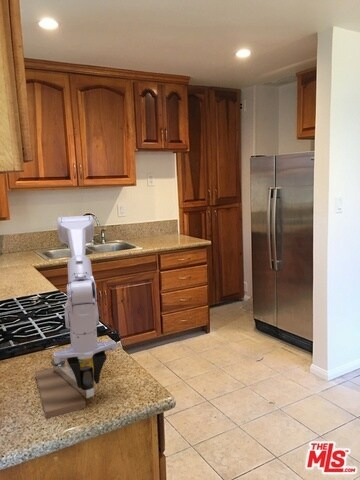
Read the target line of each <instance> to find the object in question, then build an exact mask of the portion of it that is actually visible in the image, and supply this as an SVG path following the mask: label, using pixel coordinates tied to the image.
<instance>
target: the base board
mask: <svg viewBox="0 0 360 480" xmlns="http://www.w3.org/2000/svg"><path fill="white" fill-rule="evenodd" d="M66 365H67V366H68V367H69V368H70V366H69V364H68V363H67V364H66ZM70 369H71V368H70ZM34 372H35V373H34V374H35V381H36V384H37V388H38V393H39V395H40V399H41V404H42V408H43V411H44V416H45V419H49V418H52V417H57V416H60V415H64V414H67V413H71V412H75V411H78V410H83V409H85V408H87V406H86V400H85V398H84V395H82V394H81V393H80V392H79V391H78V390H77V389H76V388H74V387H73V386H72V385H71V384H70V383H69V382H68V381H66V380H65V379H64V378H63V377H62V376H61V375H60V374H58V373H57V372H56V371H55V370H54V369H53V367H50V368H45V369H41V370H36V371H34Z"/></svg>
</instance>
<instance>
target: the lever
mask: <svg viewBox="0 0 360 480" xmlns="http://www.w3.org/2000/svg"><path fill="white" fill-rule="evenodd" d="M51 366H53V367H52V368H53V369H54V370H55V371H56V372H57V373H58V374H60V375H61V376H62V377H63V378H64V379H65V380H66V381H68V382H69V383H70V384H71V385H72V386H73V387H74V388H76V389H77V390H78V391H79V392H80V393H81V394H82V395H83V397H85V398H86V399H89V398H91V397H93V396H95V381H94V379H93V367H91V366H84V367H81V368H80V377H81V384H82V387H81V388H78V386H77V382H76V378H75V375H74V373H73V371H72V369H71V368H69V367H70V366H69V367H68V366H67V364H66V360H64V361H60V363H56V364H55V362H54V358H52V359H51Z"/></svg>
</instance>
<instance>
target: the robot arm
mask: <svg viewBox="0 0 360 480" xmlns="http://www.w3.org/2000/svg"><path fill="white" fill-rule="evenodd" d="M56 221H57V223H56V224H57V236H58V239H59V241H60V243H61V244H65V245H67V246H68V248H69V255H70V258H69V260H68V261H67V262H66V263H67V280H68V283H67V284H66V295H67V301H65V304H64V321H65V322H64V323H65V328H66V329H69V335H70V336H69V338H70V347H68V348H65V349H62V350H59V351H55V352H53V353H52V355H53V359H54V362H55V364H56V363H60V361H64V360H65V361H67V364H69V367H70V369H71V370H72V371H73V373H74V375H75V378H76V382H77V386H78V388H81V387H82V384H81V377H80V363H79V359H78V357H83V356H84V357H90V356H92V358H93V369H94V384H99V382H100V376H101V372H102V369H103V367H104V365H105V362H107V355H106V352H109V351H111V352H114V351H115V352H116V351H117V343H116V341H115V340H108V341H106V340H105V341H98V332H97V331H98V330H97V326H98V324H99V323H100V319H99V316H100V315H99V307H98V302H97V300H98V297H97V296H98V295H97V294H98V293H97V286H96V285H97V284H96V282H95V279H94V276H93V268H92V261H91V259H90V258H89V257H87V256H86V251H87V250H86V246H87V243H90V242H92V241H93V239H94V237H95V220H94V217H93V215H91V214H90V215H76V216H75V215H74V216H71V215H70V216H61V215H60V216H58V217H57V219H56Z"/></svg>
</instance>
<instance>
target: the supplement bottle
mask: <svg viewBox="0 0 360 480" xmlns="http://www.w3.org/2000/svg"><path fill="white" fill-rule="evenodd" d="M78 359H79V363H80V368H81V367H84V366H91V367H93V358H92V356H90V357H84V356H83V357H78ZM93 379H94V369H93Z"/></svg>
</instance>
